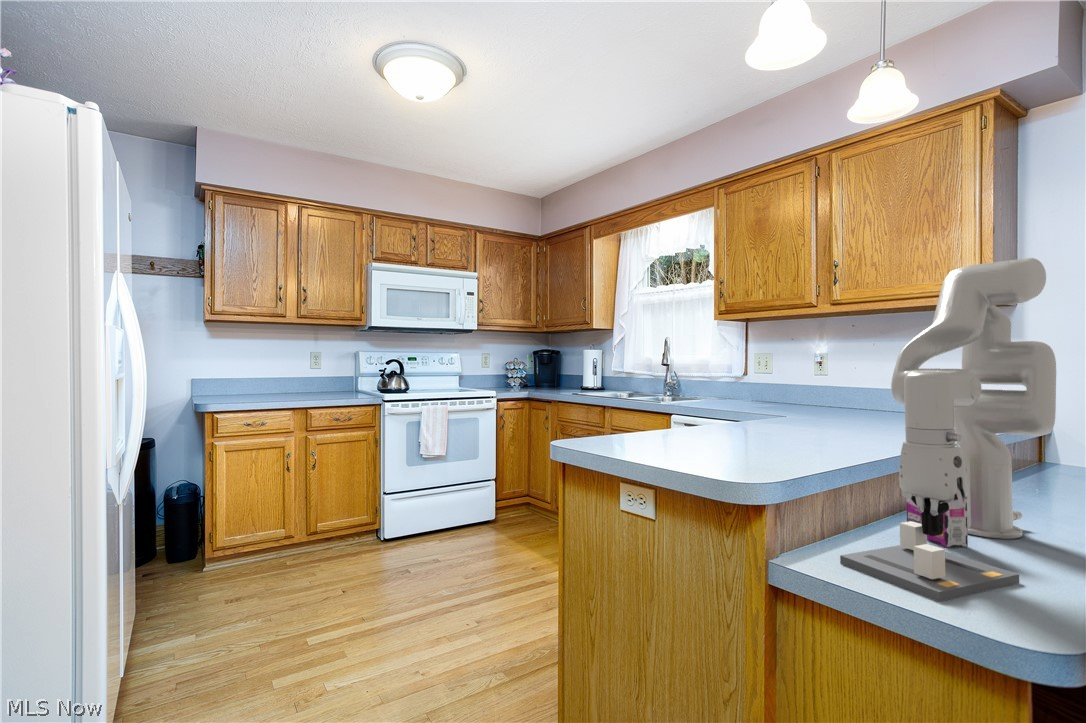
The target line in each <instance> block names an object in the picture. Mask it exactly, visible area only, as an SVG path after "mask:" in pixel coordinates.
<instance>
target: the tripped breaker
mask: <svg viewBox="0 0 1086 723" xmlns="http://www.w3.org/2000/svg"><path fill="white" fill-rule="evenodd" d="M899 540H900V541H899V543H900V544H899V545H900V546H901V547H904V548H907V549H911V550H914V546H918V545H924V544H928V540H927V535H926V534H923V527H922V524H920V523H916V522H912V521H910V522H907V521H904V522H899Z"/></svg>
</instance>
